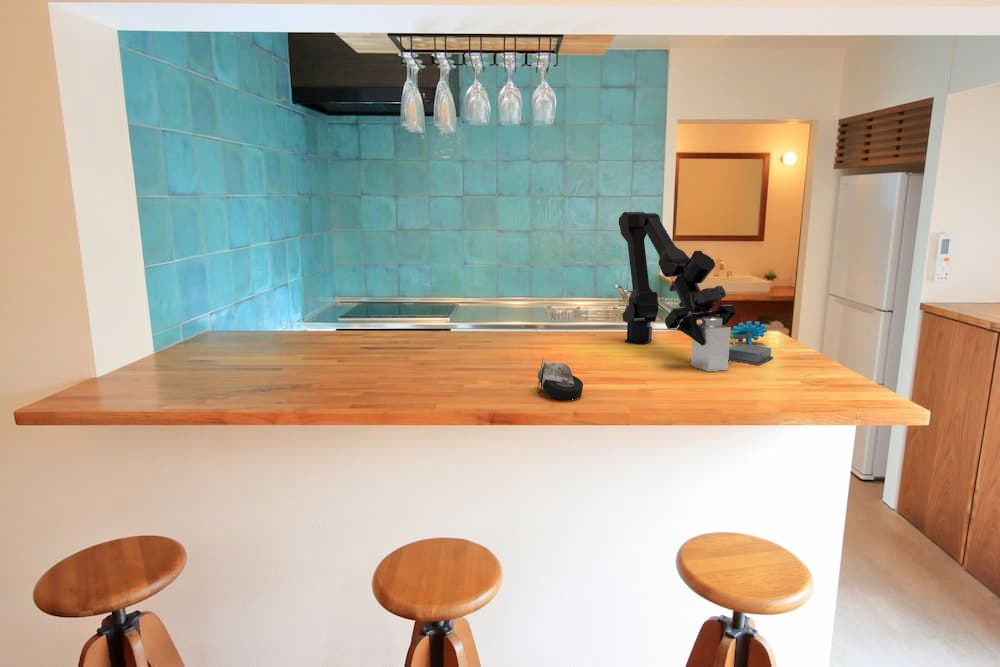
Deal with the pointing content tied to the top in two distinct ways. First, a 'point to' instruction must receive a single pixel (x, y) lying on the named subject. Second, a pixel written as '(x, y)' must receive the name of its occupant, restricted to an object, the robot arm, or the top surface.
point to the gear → (747, 332)
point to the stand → (749, 354)
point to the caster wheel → (559, 381)
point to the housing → (712, 345)
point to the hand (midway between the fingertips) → (714, 343)
